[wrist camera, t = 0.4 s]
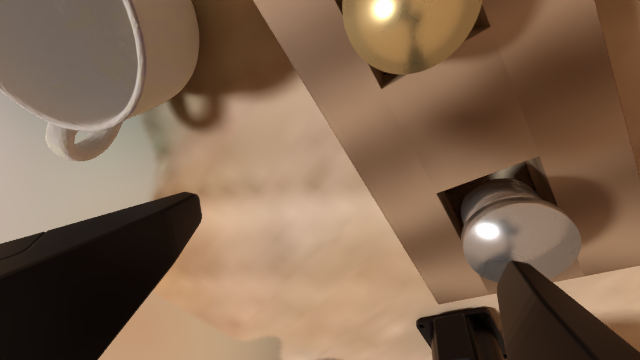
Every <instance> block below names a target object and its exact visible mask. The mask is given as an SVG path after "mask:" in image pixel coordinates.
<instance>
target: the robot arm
mask: <svg viewBox="0 0 640 360" xmlns="http://www.w3.org/2000/svg"><path fill="white" fill-rule="evenodd" d="M201 219H202V213H201V206H200V200H199V197H198V195H197V194H194V193H189V192H182V193H178V194H175V195H171V196H168V197H164V198H161V199H157V200H154V201H150V202H147V203H143V204H140V205H136V206H133V207H129V208H126V209H122V210H119V211H116V212H112V213H108V214H105V215H101V216H98V217H94V218H91V219H87V220H84V221H80V222H77V223H73V224H70V225H66V226H63V227H59V228H56V229H52V230H48V231H47V232H42V233H38V234H34V235H31V236H27V237H24V238H20V239H16V240H13V241H9V242H5V243H2V244H0V360H98V359H99V357H100V356H101V355H102V354H103V352H104V351H105V350H106V349H107V347H108V346H109V345H110V344H111V342H112V341H113V340H114V338H115V337H116V336H117V335H118V333H119V332H120V331H121V330H122V328H123V327H124V326H125V325H126V323H127V322H128V321H129V320H130V318H131V317H132V316H133V315H134V313H135V312H136V311H137V309H138V308H139V307H140V306H141V304H142V303H143V302H144V301H145V299H146V298H147V297H148V296H149V294H150V293H151V292H152V291H153V289H154V288H155V287H156V286H157V284H158V283H159V282H160V281H161V279H162V278H163V277H164V275H165V274H166V273H167V272H168V270H169V269H170V268H171V267H172V265H173V264H174V263H175V261H176V260H177V258H178V257H179V255H180V254H181V252H182V251H183V249H184V248H185V246H186V244H187V243H188V241H189V240H190V238H191V237H192V235H193V234H194V232H195V230H196V229H197V227H198V226H199V224H200V222H201ZM497 297H498V304H499V310H500V317H501V324H502V331H503V336H502V334H501V332H500V330H499V328H498V326H497V324H496V323H495V321H494V319H493V317H492V315H491V313H490V311H489V310H488V309H485V308H480V309H474V310H469V311H463V312H457V313H452V314H446V315H440V316H435V317H429V318H423V319H418V320H417V321H416V326H417V328H418V330H419V331H420V333H421V334H422V336H423V337H424V339H425V340H426V342H427V343H428V345H429V346H430V348H431V349H432V358H433V360H506V359H508V360H640V352H639V351H637V350H636V349H635V348H634V347H632V346H631V345H630V344H629V343H627V342H626V341H625V340H624V339H622V338H621V337H620V336H619V335H617V334H616V333H615V332H614V331H612V330H611V329H610V328H609V327H607V326H606V325H605V324H604V323H602V322H601V321H600V320H599V319H598V318H596V317H595V316H594V315H593V314H591V313H590V312H589V311H588V310H586V309H585V308H584V307H583V306H581V305H580V304H579V303H578V302H576V301H575V300H574V299H573V298H571V297H570V296H569V295H568V294H566V293H565V292H564V291H563V290H561V289H560V288H559V287H558V286H556V285H555V284H554V283H553V282H551V281H550V280H549V279H548V278H546V277H545V276H544V275H543V274H542V273H540V272H539V271H538V270H537V269H535V268H534V267H533V266H532V265H530V264H528V263H524V262H519V261H515V260H512V261H509V262H508V264H507V265H506V267H505V269H504V271H503V273H502V275H501V277H500V279H499V281H498V284H497Z"/></svg>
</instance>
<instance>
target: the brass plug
mask: <svg viewBox="0 0 640 360" xmlns="http://www.w3.org/2000/svg"><path fill="white" fill-rule="evenodd" d="M482 1H483V0H343V2H342V12H343V21H344V27H345V30H346V33H347V36H348V38H349V40H350V43H351V44H352V46H353V48H354V49H355V51H356V52H357V53H358V54H359V56H360V57H361V58H362V59H363V60H365V61H366V62H367V63H368V64H370V65H371V66H373V67H375V68H377V69H379V70H381V71H384V72H387V73H392V74H413V73H418V72H421V71H424V70H427V69H430V68H432V67H434V66H436V65H437V64H439V63H441V62H442V61H444V60H445V59H446V58H448V57H449V56H450V55H451V54H453V53H454V52H455V51H456V50H457V49H458V48H459V47H460V45H461V44H462V43H463V42H464V40H465V39H466V38H467V36H468V34H469V33H470V31H471V30H472V28H473V26H474V24H475V22H476V20H477V17H478V15H479V12H480V9H481V5H482Z"/></svg>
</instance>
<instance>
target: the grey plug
mask: <svg viewBox="0 0 640 360" xmlns="http://www.w3.org/2000/svg"><path fill="white" fill-rule="evenodd" d="M461 217H462V220H463V223H464V227H463V230H462V234H461V243H462V247H463V251H464V255H465V258H466V260H467V262H468V264H469V265H470V267H471V268H472V269H473V270H474V271H475V272H477V273H478V274H479V275H481V276H482V277H484V278H486V279H489V280H491V281H494V282H498V281H499V279H500V277H501V275H502V273H503V271H504V269H505V267H506V265H507V264H508V262H509V261H512V260H515V261H519V262H524V263H528V264H530V265H532V266H533V267H534V268H535V269H537V270H538V271H539V272H540V273H542V274H543V275H544V276H545V277H546V278H548V279H551V278H553V277H555V276H557V275H559V274H561V273H562V272H563V271H565V270H566V269H567V268H569V267H570V266H571V265H572V264H573V262H574V261H575V260H576V258H577V257H578V255H579V252H580V249H581V236H580V233H579V231H578V228H577V227H576V226H575V224H574V223H573V222H572V221H571V220H570V218H569V217H568V216H567V215H566V214H565V213H564V212H563V211H562V210H561V209H560V208H559V207H557V206H556V205H554V204H552V203H550V202H547V201H545V200H542V199H541V198H540V197H539V196H538V194H537V193H536V192H535V191H534V189H532V188H531V187H530V186H529V185H527V184H526V183H524V182H521V181H518V180H514V179H506V178H502V179H494V180H490V181H486V182H484V183H481V184H479V185H478V186H476V187H475V188H473V189H472V190H471V191H470V192H469V193H468V194H467V195H466V196H465V198H464V199H463V202H462V204H461Z"/></svg>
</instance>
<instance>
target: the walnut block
mask: <svg viewBox="0 0 640 360" xmlns="http://www.w3.org/2000/svg"><path fill="white" fill-rule="evenodd" d="M253 1H254V3H255V4H256V6H257V8H258V9H259V11H260V13H261V14H262V16H263V18H264V19H265V21H266V22H267V24H268V26H269V27H270V29H271V31H272V32H273V34H274V36H275V37H276V39H277V41H278V42H279V44H280V45H281V47H282V49H283V50H284V52H285V54H286V55H287V57H288V59H289V60H290V62H291V63H292V65H293V67H294V68H295V70H296V72H297V73H298V75H299V77H300V78H301V80H302V81H303V83H304V85H305V86H306V88H307V90H308V91H309V93H310V95H311V96H312V98H313V100H314V101H315V103H316V104H317V106H318V108H319V109H320V111H321V113H322V114H323V116H324V118H325V119H326V121H327V122H328V124H329V126H330V127H331V129H332V131H333V132H334V134H335V136H336V137H337V139H338V140H339V142H340V144H341V145H342V147H343V149H344V150H345V152H346V154H347V155H348V157H349V158H350V160H351V162H352V163H353V165H354V167H355V168H356V170H357V172H358V173H359V175H360V177H361V178H362V180H363V181H364V183H365V185H366V186H367V188H368V190H369V191H370V193H371V195H372V196H373V198H374V199H375V201H376V203H377V204H378V206H379V208H380V209H381V211H382V213H383V214H384V216H385V217H386V219H387V221H388V222H389V224H390V226H391V227H392V229H393V231H394V232H395V234H396V236H397V237H398V239H399V240H400V242H401V244H402V245H403V247H404V249H405V250H406V252H407V254H408V255H409V257H410V258H411V260H412V262H413V263H414V265H415V267H416V268H417V270H418V272H419V273H420V275H421V276H422V278H423V280H424V281H425V283H426V285H427V286H428V288H429V290H430V291H431V293H432V294H433V296H434V298H435V299H436V301H437V303H438V304H443V303H448V302H453V301H459V300H464V299H469V298H474V297H479V296H485V295H490V294H495V293H497V284H498V282H494V281H491V280H489V279H486V278H484V277H482V276H481V275H479V274H478V273H477V272H475V271H474V270H473V269H472V268H471V267H470V265H469V264H468V262H467V260H466V258H465V255H464V251H463V247H462V243H461V234H462V230H463V227H464V223H463V220H460V221H459V220H458V218H457V216H456V214H455V212H454V210H453V208H452V206H451V204H450V202H449V200H448V198H447V196H446V194H445V192H444V191H445V190H447V189H450V188H453V187H456V186H458V185H461V184H464V183H467V182H469V181H472V180H475V179H478V178H480V177H483V176H486V175H489V174H491V173H494V172H497V171H500V170H502V169H505V168H508V167H511V166H513V165H516V164H519V163H522V162H524V161H525V163H526V165H527V168H528V171H529V173H530V176H531V178H532V181H533V183H534V186H535V188H536V191H537V193H538V196H539V197H540V198H541V199H542V200H545V201H547V202H550V203H552V204H554V205H556V206H557V207H559V208H560V209H561V210H562V211H563V212H564V213H565V214H566V215H567V216H568V217H569V218H570V220H571V221H572V222H573V223H574V224H575V226H576V227H577V228H578V231H579V233H580V236H581V249H580V252H579V255H578V257H577V258H576V260H575V261H574V262H573V264H572V265H571V266H570V267H569V268H567V269H566V270H565V271H563V272H562V273H561V274H559V275H557V276H555V277H553V278H551V279H549V280H550V281H551V282H557V281H562V280H567V279H572V278H578V277H583V276H588V275H593V274H598V273H603V272H609V271H614V270H619V269H624V268H629V267H634V266H640V177H639V173H638V169H637V165H636V161H635V157H634V154H633V150H632V146H631V142H630V138H629V134H628V130H627V126H626V122H625V118H624V115H623V111H622V107H621V103H620V99H619V95H618V91H617V87H616V83H615V79H614V76H613V72H612V68H611V64H610V60H609V56H608V52H607V48H606V44H605V40H604V37H603V33H602V29H601V25H600V21H599V17H598V13H597V9H596V5H595V2H594V0H483V1H482V5H481V9H480V12H479V15H478V17H477V20H476V22H475V24H474V26H473V28H472V30H471V31H470V33H469V34H468V36H467V38H466V39H465V40H464V42H463V43H462V44H461V45H460V47H459V48H458V49H457V50H456V51H455V52H454V53H453V54H451V55H450V56H449V57H448V58H446V59H445V60H444V61H442V62H441V63H439V64H437V65H436V66H434V67H432V68H430V69H427V70H424V71H421V72H418V73H413V74H392V73H390V74H388V75H386V76H384V74H383V72H382V71H381V70H379V69H377V68H375V67H373V66H371V65H370V64H368V63H367V62H366V61H365V60H363V59H362V58H361V57H360V56H359V54H358V53H357V52H356V51H355V49H354V48H353V46H352V44H351V43H350V40H349V38H348V36H347V33H346V30H345V27H344V21H343V12H342V2H343V0H253Z"/></svg>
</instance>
